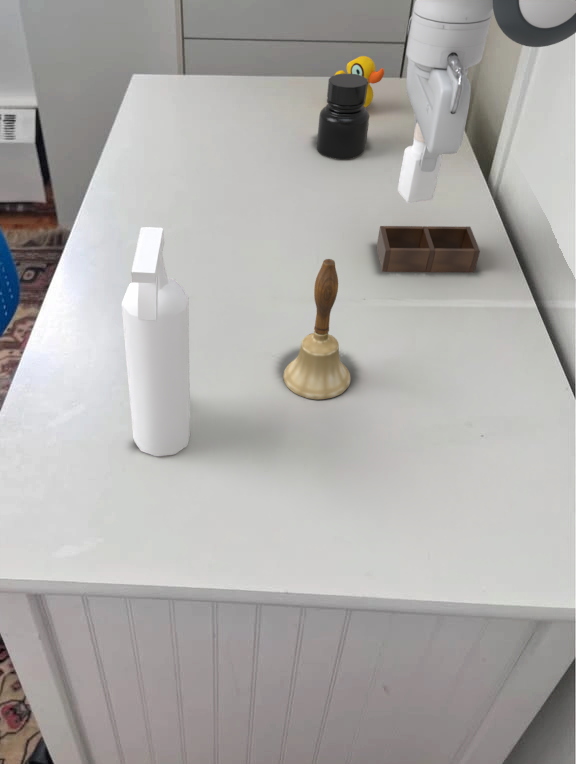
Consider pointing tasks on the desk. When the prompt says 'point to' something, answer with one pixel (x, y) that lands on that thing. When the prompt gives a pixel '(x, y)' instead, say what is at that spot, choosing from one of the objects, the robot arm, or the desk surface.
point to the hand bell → (320, 347)
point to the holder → (427, 249)
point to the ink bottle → (344, 117)
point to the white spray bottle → (157, 350)
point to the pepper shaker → (417, 173)
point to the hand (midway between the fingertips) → (422, 159)
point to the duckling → (365, 74)
